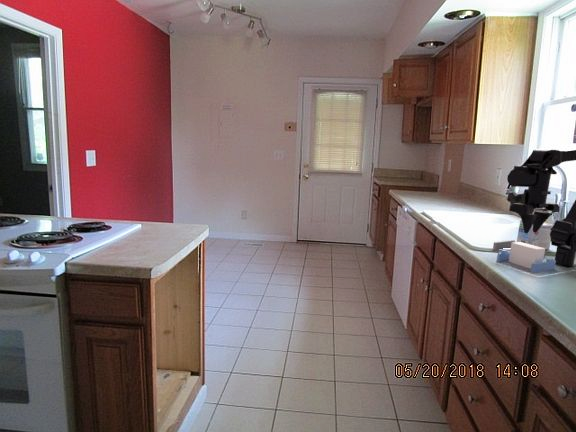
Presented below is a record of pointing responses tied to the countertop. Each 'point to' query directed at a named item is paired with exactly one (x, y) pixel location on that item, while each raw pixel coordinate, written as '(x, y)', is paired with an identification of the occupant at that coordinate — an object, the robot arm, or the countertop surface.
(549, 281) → the countertop surface
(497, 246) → the grey flat block
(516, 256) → the pale pink flat box
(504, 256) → the blue bezel bay
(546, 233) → the light bulb box
